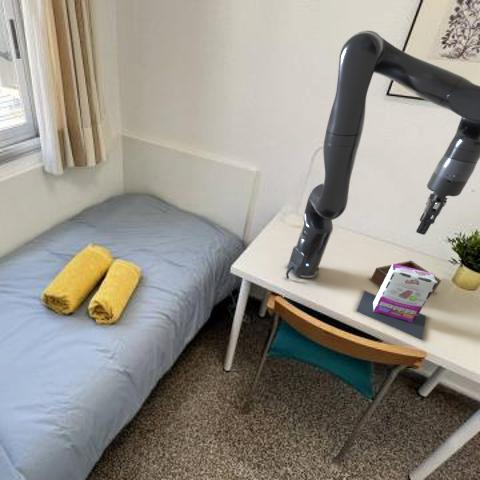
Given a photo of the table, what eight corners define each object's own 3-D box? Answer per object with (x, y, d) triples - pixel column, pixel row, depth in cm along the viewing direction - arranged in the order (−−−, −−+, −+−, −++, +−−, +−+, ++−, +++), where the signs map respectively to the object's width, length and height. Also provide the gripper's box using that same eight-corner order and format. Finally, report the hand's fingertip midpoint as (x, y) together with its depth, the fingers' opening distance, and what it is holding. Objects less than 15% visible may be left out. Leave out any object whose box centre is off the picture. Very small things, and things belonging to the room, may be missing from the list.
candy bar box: (410, 313, 110) (435, 273, 101) (412, 323, 107) (439, 283, 97) (371, 302, 114) (392, 262, 105) (372, 312, 110) (394, 271, 101)
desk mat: (421, 339, 102) (422, 338, 102) (356, 311, 111) (356, 310, 110) (425, 316, 110) (426, 315, 110) (364, 291, 119) (364, 290, 119)
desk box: (397, 301, 115) (405, 289, 112) (370, 279, 124) (376, 267, 121) (433, 292, 120) (441, 280, 117) (404, 272, 129) (411, 260, 126)
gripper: (436, 163, 97) (410, 214, 106) (432, 177, 87) (403, 232, 96) (469, 171, 93) (439, 222, 102) (468, 186, 84) (435, 242, 93)
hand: (421, 227), depth 99 cm, fingers open, 8 cm apart
